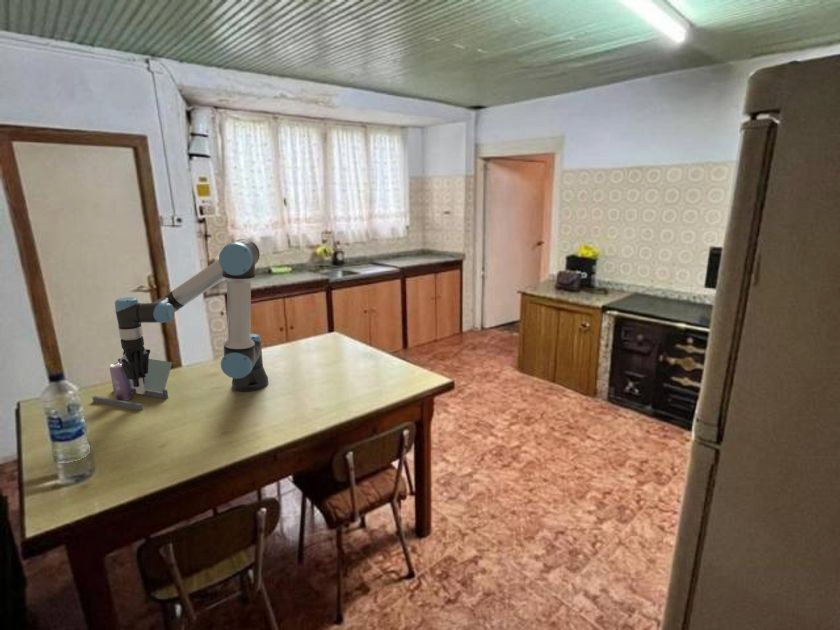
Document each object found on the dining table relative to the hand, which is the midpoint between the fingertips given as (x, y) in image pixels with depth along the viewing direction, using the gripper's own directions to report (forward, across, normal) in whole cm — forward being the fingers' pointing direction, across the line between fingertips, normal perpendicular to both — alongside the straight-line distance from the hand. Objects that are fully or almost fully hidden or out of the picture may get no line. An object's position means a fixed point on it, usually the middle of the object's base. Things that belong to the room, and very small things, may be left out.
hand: (140, 392), depth 183 cm
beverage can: (+4, 0, -9) cm, 10 cm away
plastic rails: (+4, 0, -6) cm, 8 cm away
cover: (-4, -8, -6) cm, 11 cm away
